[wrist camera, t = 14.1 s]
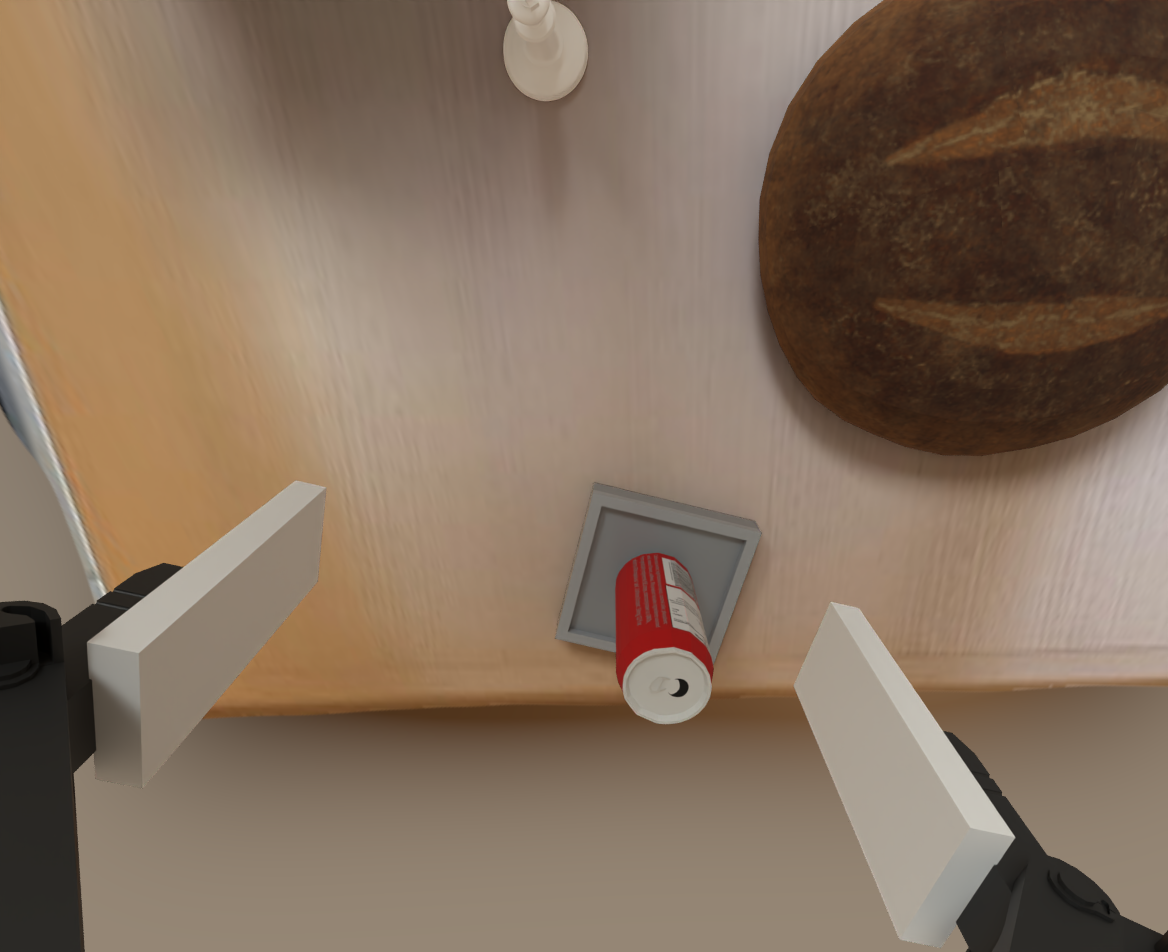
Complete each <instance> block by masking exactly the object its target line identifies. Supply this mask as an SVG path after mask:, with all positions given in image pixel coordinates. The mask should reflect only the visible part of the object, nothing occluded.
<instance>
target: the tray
mask: <svg viewBox="0 0 1168 952" xmlns="http://www.w3.org/2000/svg"><path fill="white" fill-rule="evenodd" d="M761 534H762V533H761V531H760V529H759V527H758V525H757V524H756V522H755V521H753V520H748V519H744V518H740V517H736V516H732V515H728V514H723V513H719V512H715V511H711V510H707V509H703V508H698V507H694V506H690V505H686V504H682V503H678V502H673V501H669V500H665V499H661V498H657V497H653V496H648V495H644V494H640V493H636V492H632V491H628V490H623V489H619V488H615V487H611V486H607V485H603V484H598V483H594V484H593V488H592V492H591V496H590V500H589V504H588V507H587V511H586V515H585V519H584V523H583V527H582V530H581V534H580V538H579V542H578V546H577V550H576V554H575V557H574V561H573V565H572V569H571V573H570V577H569V580H568V584H567V588H566V592H565V596H564V600H563V604H562V607H561V611H560V615H559V619H558V623H557V629H556V636H555V639H559V640H563V641H568V642H572V643H576V644H581V645H585V646H589V647H594V648H598V649H602V650H607V651H611V652H615V653H616V612H615V586H616V578H617V576H618V573H619V571H620V570H621V569H622V568H623V566H624V565H625V564H626V563H627V562H628V561H630V560H631V559H633V558H635V557H637V556H640V555H642V554H649V553H661V554H665V555H668V556H672V557H675V558H676V559H677V560H678V561H679V562H680V563H681V564H682V565H683V566H685V567H686V568H687V570H688V572H689V574H690V576H691V578H692V582H693V586H694V590H695V594H696V598H697V602H698V606H699V610H700V614H701V618H702V622H703V626H704V630H705V634H706V638H707V641H708V645H709V649H710V653H711V657H712V662H713V665H714V662H715V659H716V657H717V654H718V651H719V648H720V646H721V643H722V640H723V637H724V635H725V632H726V629H727V627H728V624H729V621H730V618H731V616H732V613H733V610H734V607H735V605H736V602H737V599H738V597H739V594H740V591H741V588H742V586H743V583H744V580H745V577H746V575H747V572H748V569H749V566H750V564H751V561H752V558H753V556H754V553H755V550H756V547H757V545H758V542H759V539H760V536H761Z"/></svg>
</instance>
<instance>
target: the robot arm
mask: <svg viewBox="0 0 1168 952" xmlns="http://www.w3.org/2000/svg"><path fill="white" fill-rule="evenodd" d="M325 497H326V487H323V486H318V485H314V484H310V483H305V482H301V481H294V482H293V483H292V484H290V485H289V486H288V487H286V488H285V489H284V490H283V491H281V492H280V493H279V494H277V495H276V496H275V497H274V498H272V499H271V500H270V501H268V502H267V503H266V504H265V505H263V506H262V507H261V508H259V509H258V510H257V511H255V512H254V513H253V514H252V515H250V516H249V517H248V518H246V519H245V520H244V521H243V522H241V523H240V524H239V525H237V526H236V527H235V528H234V529H232V530H231V531H230V532H228V533H227V534H226V535H225V536H223V537H222V538H221V539H219V540H218V541H217V542H215V543H214V544H213V545H212V546H210V547H209V548H208V549H206V550H205V551H204V552H203V553H201V554H200V555H199V556H197V557H196V558H195V559H194V560H192V561H191V562H190V563H188V564H187V565H186V566H185V567H180V566H176V565H171V564H166V563H162V564H160V565H157V566H154V567H151V568H149V569H146V570H143V571H141V572H138V573H135V574H134V575H133V576H131V577H130V578H128V579H127V580H125V581H124V582H123V583H121V584H120V585H118V586H117V587H116V588H114V591H113V592H111V591H110V592H109V593H107V594H106V595H104V596H103V597H101V598H100V599H99V600H97V603H96V604H92V605H91V606H89V607H87V608H86V609H85V610H83V611H82V612H80V613H79V614H78V615H76V616H75V617H73V618H72V619H70V620H69V621H68V622H66V623H65V624H63V625H62V626H61V618H60V616H59V614H58V612H57V610H56V609H54V608H52V607H50V606H48V605H46V604H44V603H37V602H30V601H13V602H0V952H85V949H84V935H83V934H84V933H83V917H82V900H81V885H80V868H79V852H78V836H77V820H76V803H75V787H74V774H73V773H74V772H75V771H76V770H77V769H78V768H79V767H80V766H81V765H82V764H83V763H84V762H85V761H86V760H87V759H88V758H89V757H90V756H91V755H92V754H93V753H94V764H95V779H97V780H102V781H107V782H112V783H117V784H122V785H127V786H132V787H137V788H142V789H143V788H144V786H145V785H146V784H147V783H148V782H149V781H150V779H151V778H152V777H153V776H154V775H155V773H156V772H157V771H158V770H159V769H160V768H161V766H162V765H163V764H164V763H165V762H166V760H167V759H168V758H169V757H170V756H171V755H172V753H173V752H174V751H175V750H176V749H177V747H178V746H179V745H180V744H181V743H182V742H183V740H184V739H185V738H186V737H187V736H188V734H189V733H190V732H191V731H192V730H193V728H194V727H195V726H196V725H197V723H198V722H199V721H200V720H201V719H202V718H203V717H204V715H205V714H206V713H207V712H208V711H209V710H210V708H211V707H212V706H213V705H214V704H215V702H216V701H217V700H218V699H219V698H220V697H221V695H222V694H223V693H224V692H225V691H226V689H227V688H228V687H229V686H230V685H231V684H232V682H233V681H234V680H235V679H236V678H237V676H238V675H239V674H240V673H241V672H242V671H243V669H244V668H245V667H246V666H247V665H248V663H249V662H250V661H251V660H252V659H253V658H254V656H255V655H256V654H257V653H258V652H259V650H260V649H261V648H262V647H263V646H264V644H265V643H266V642H267V641H268V640H269V639H270V637H271V636H272V635H273V634H274V633H275V631H276V630H277V629H278V628H279V627H280V626H281V624H282V623H283V622H284V621H285V620H286V618H287V617H288V616H289V615H290V614H291V613H292V611H293V610H294V609H295V608H296V607H297V605H298V604H299V603H300V602H301V601H302V600H303V598H304V597H305V596H306V595H307V594H308V592H309V591H310V590H311V589H312V588H313V586H314V585H315V584H316V583H317V582H318V573H319V562H320V552H321V541H322V530H323V519H324V508H325ZM794 688H795V690H796V693H797V695H798V698H799V700H800V702H801V705H802V707H803V709H804V712H805V714H806V717H807V719H808V722H809V724H810V726H811V729H812V731H813V733H814V736H815V738H816V741H817V743H818V745H819V748H820V750H821V753H822V755H823V757H824V760H825V762H826V765H827V767H828V769H829V772H830V774H831V776H832V779H833V781H834V784H835V786H836V788H837V791H838V793H839V796H840V798H841V800H842V803H843V805H844V808H845V810H846V812H847V815H848V817H849V819H850V822H851V824H852V827H853V829H854V832H855V834H856V836H857V839H858V841H859V843H860V846H861V848H862V851H863V853H864V855H865V858H866V860H867V863H868V865H869V867H870V870H871V872H872V874H873V877H874V879H875V882H876V884H877V887H878V889H879V891H880V894H881V896H882V899H883V901H884V903H885V905H886V908H887V910H888V913H889V915H890V918H891V920H892V923H893V925H894V927H895V930H896V932H897V934H898V937H899V939H900V940H904V941H909V942H914V943H919V944H924V945H929V946H934V947H939V948H941V947H942V946H943V944H944V942H945V941H946V940H947V938H948V937H949V935H950V934H951V932H952V931H953V929H954V928H955V926H956V925H958V927H959V929H960V931H961V933H962V935H963V937H964V939H965V941H966V943H967V945H968V946H969V948H968V949H967V951H966V952H1168V931H1167V932H1166V933H1165V934H1164V935H1162V934H1160V933H1157V932H1155V931H1153V930H1151V929H1149V928H1146V927H1144V926H1142V925H1140V924H1138V923H1136V922H1134V921H1131V920H1129V919H1127V918H1125V917H1123V916H1121V915H1120V913H1119V911H1118V910H1117V908H1116V907H1115V905H1114V904H1113V902H1112V901H1111V899H1110V898H1109V897H1108V895H1107V894H1106V893H1105V892H1103V890H1102V889H1101V888H1100V887H1099V886H1098V885H1097V884H1096V883H1095V882H1094V881H1092V880H1091V879H1090V878H1089V877H1087V876H1086V875H1085V874H1083V873H1082V872H1081V871H1079V870H1078V869H1077V868H1075V867H1073V866H1071V865H1069V864H1067V863H1066V862H1064V861H1062V860H1060V859H1057V858H1054V857H1051V856H1047V854H1046V853H1045V852H1044V850H1043V849H1042V847H1041V846H1040V844H1039V843H1038V842H1037V840H1036V839H1035V837H1034V836H1033V835H1032V833H1031V832H1030V830H1029V829H1028V828H1027V826H1026V825H1025V824H1024V822H1023V821H1022V819H1021V818H1020V816H1019V815H1018V814H1017V812H1016V811H1015V810H1014V808H1013V807H1012V805H1011V804H1010V802H1009V801H1008V800H1007V798H1006V797H1004V796H1002V791H1001V790H1000V789H999V787H998V786H997V785H996V783H995V781H994V780H993V779H990V778H989V775H990V774H989V773H988V772H987V771H986V769H985V767H984V766H983V765H982V763H981V762H980V761H979V759H978V758H977V756H976V755H975V754H974V753H973V752H972V751H971V750H970V749H969V748H968V747H967V746H966V745H965V744H964V743H963V742H961V741H960V740H959V739H958V738H957V737H956V736H955V735H954V734H953V733H950V732H946V731H942V729H941V728H940V726H939V725H938V723H937V722H936V720H935V719H934V718H933V716H932V715H931V713H930V712H929V710H928V709H927V707H926V706H925V704H924V703H923V701H922V700H921V698H920V697H919V696H918V694H917V693H916V691H915V690H914V688H913V687H912V685H911V684H910V682H909V681H908V679H907V678H906V677H905V675H904V674H903V672H902V671H901V669H900V668H899V666H898V665H897V663H896V662H895V660H894V659H893V657H892V656H891V655H890V653H889V652H888V650H887V649H886V647H885V646H884V644H883V643H882V641H881V640H880V638H879V637H878V636H877V634H876V633H875V631H874V630H873V628H872V627H871V625H870V624H869V622H868V621H867V619H866V618H865V616H864V615H863V614H862V612H861V611H860V609H859V608H857V607H852V606H848V605H843V604H839V603H835V602H830V604H829V606H828V609H827V611H826V613H825V615H824V618H823V620H822V622H821V624H820V627H819V629H818V631H817V633H816V636H815V638H814V640H813V643H812V645H811V647H810V649H809V652H808V654H807V656H806V658H805V661H804V663H803V665H802V668H801V670H800V672H799V674H798V677H797V679H796V681H795V683H794Z"/></svg>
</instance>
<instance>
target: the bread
mask: <svg viewBox="0 0 1168 952" xmlns="http://www.w3.org/2000/svg"><path fill="white" fill-rule="evenodd" d="M759 256H760V273H761V279H762V285H763V290H764V295H765V300H766V305H767V310H768V313H769V316H770V319H771V322H772V324H773V327H774V330H775V333H776V336H777V339H778V342H779V345H780V346H781V348H782V350H783V352H784V354H785V356H786V358H787V359H788V361H789V363H790V365H791V367H792V369H793V371H794V372H795V374H796V376H797V377H798V379H799V380H800V381H801V382H802V384H803V385H804V386H805V387H806V388H807V390H808V391H809V392H810V393H811V395H812V396H813V397H814V398H815V400H817V401H818V402H820V403H821V404H822V405H824V406H825V407H826V408H828V409H829V410H830V411H832V412H833V413H835V414H836V415H837V416H839V417H840V418H841V419H843V420H844V421H846V422H849V423H851V424H853V425H855V426H857V427H859V428H861V429H864V430H866V431H868V432H870V433H872V434H874V435H877V436H879V437H882V438H885V439H887V440H890V441H892V442H895V443H897V444H900V445H903V446H905V447H909V448H914V449H918V450H922V451H927V452H931V453H936V454H940V455H971V456H983V455H989V454H995V453H1002V452H1008V451H1014V450H1020V449H1026V448H1032V447H1036V446H1040V445H1044V444H1047V443H1051V442H1055V441H1059V440H1062V439H1066V438H1070V437H1073V436H1076V435H1078V434H1080V433H1083V432H1085V431H1087V430H1090V429H1092V428H1094V427H1097V426H1099V425H1101V424H1103V423H1106V422H1108V421H1110V420H1113V419H1115V418H1117V417H1118V416H1120V415H1122V414H1123V413H1125V412H1126V411H1128V410H1130V409H1131V408H1133V407H1134V406H1136V405H1138V404H1139V403H1141V402H1143V401H1144V400H1146V399H1147V398H1149V397H1151V396H1152V395H1154V394H1156V393H1157V392H1159V391H1160V390H1161V389H1162V388H1163V387H1164V386H1165V385H1167V384H1168V0H884V1H882V2H881V3H879V4H878V5H877V6H875V7H874V8H873V9H871V10H870V11H869V12H867V13H866V14H865V15H863V16H862V17H861V18H859V19H858V20H857V21H855V22H854V23H853V24H852V25H851V26H850V27H849V28H848V29H847V30H846V31H845V33H844V34H843V35H842V36H841V37H840V38H839V39H838V40H837V41H836V42H835V43H834V44H833V45H832V46H831V47H830V48H829V49H828V50H827V51H826V52H825V53H824V54H823V56H822V57H821V58H820V59H819V60H818V61H817V62H816V64H815V65H814V67H813V69H812V70H811V72H810V73H809V75H808V76H807V78H806V79H805V81H804V83H803V84H802V86H801V87H800V89H799V90H798V92H797V93H796V95H795V97H794V98H793V100H792V101H791V103H790V104H789V106H788V108H787V111H786V113H785V116H784V118H783V121H782V123H781V126H780V129H779V131H778V134H777V136H776V139H775V141H774V144H773V146H772V149H771V151H770V154H769V158H768V163H767V168H766V172H765V177H764V182H763V186H762V191H761V196H760V210H759Z"/></svg>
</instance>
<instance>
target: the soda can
mask: <svg viewBox="0 0 1168 952" xmlns="http://www.w3.org/2000/svg"><path fill="white" fill-rule="evenodd" d="M615 612H616V674H617V678H618V682H619V685H620V687H621V689H622V691H623V694H624V698H625V700H626V702H627V703H628V704H629V706H630V707H631V708H632V710H633V711H634V712H635V714H636V715H639V716H641V717H643V718H645V719H648V720H650V721H652V722H655V723H658V724H674V723H680V722H683V721H686V720H688V719H690V718H692V717H693V716H695V715H697V714H698V713H699V712H700V711H701V710H702V709H703V708H704V707H705V706H706V704H707V702H708V700H709V698H710V694H711V688H712V686H711V682H712V676H713V670H714V668H713V662H712V657H711V653H710V649H709V645H708V641H707V638H706V634H705V630H704V626H703V622H702V618H701V614H700V610H699V606H698V602H697V598H696V594H695V590H694V586H693V582H692V578H691V576H690V574H689V572H688V570H687V568H686V567H685V566H683V565H682V564H681V563H680V562H679V561H678V560H677V559H676V558H675V557H672V556H668V555H665V554H661V553H649V554H642V555H640V556H637V557H635V558H633V559H631V560H630V561H628V562H627V563H626V564H625V565H624V566H623V568H622V569H621V570H620V571H619V573H618V576H617V578H616V586H615Z"/></svg>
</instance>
